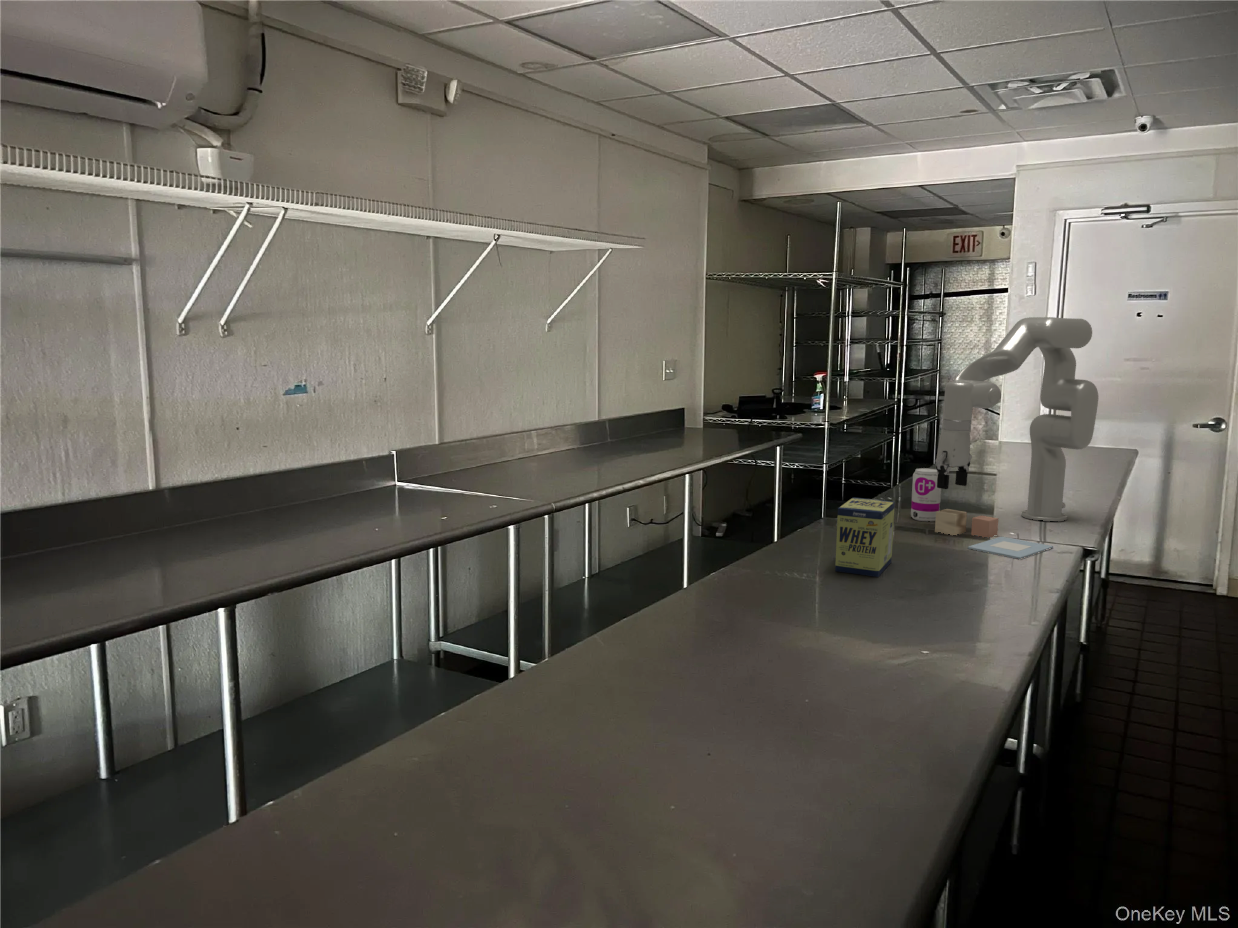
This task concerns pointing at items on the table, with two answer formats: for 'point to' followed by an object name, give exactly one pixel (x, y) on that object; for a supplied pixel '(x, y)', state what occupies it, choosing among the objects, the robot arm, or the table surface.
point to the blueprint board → (1010, 547)
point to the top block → (984, 526)
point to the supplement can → (925, 495)
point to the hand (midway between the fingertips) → (951, 486)
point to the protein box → (864, 536)
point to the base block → (950, 521)
